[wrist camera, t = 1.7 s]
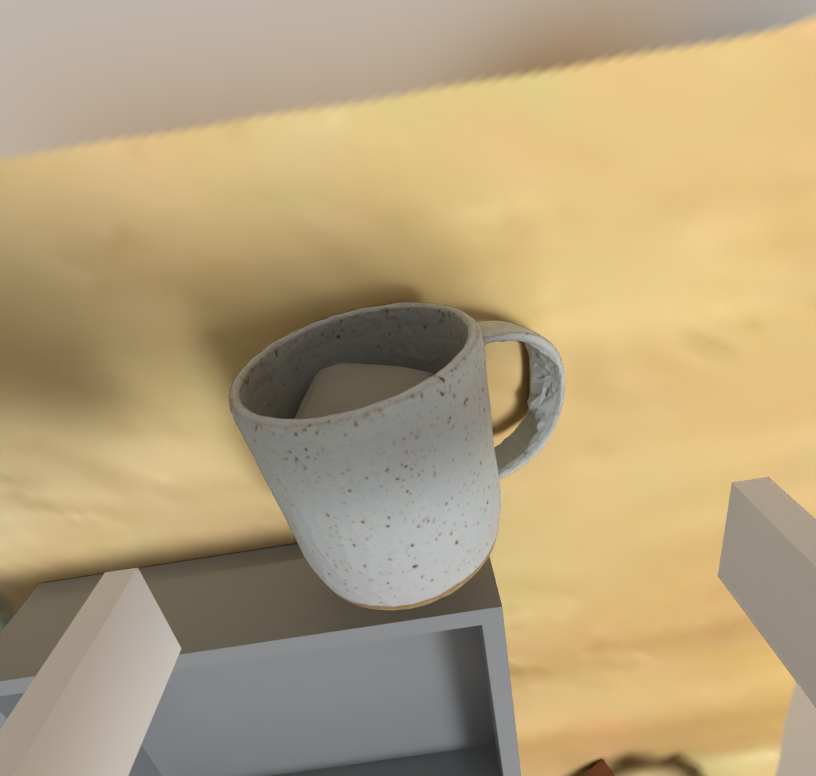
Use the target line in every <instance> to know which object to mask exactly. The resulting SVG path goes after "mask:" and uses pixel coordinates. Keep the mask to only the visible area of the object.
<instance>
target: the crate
mask: <svg viewBox="0 0 816 776" xmlns="http://www.w3.org/2000/svg"><path fill="white" fill-rule="evenodd" d="M138 569H139V571H140V573H141V574H142V576H143V578H144V580H145V582H146V584H147V586H148V587H149V589H150V591H151V593H152V595H153V597H154V599H155V600H156V602H157V604H158V606H159V608H160V610H161V611H162V613H163V615H164V617H165V619H166V621H167V623H168V624H169V626H170V628H171V630H172V632H173V634H174V636H175V637H176V639H177V641H178V643H179V645H180V647H181V651H180V653H179V656H178V658H177V660H176V663H175V665H174V668H173V670H172V672H171V675H170V677H169V679H168V682H167V684H166V687H165V689H164V691H163V694H162V696H161V699H160V701H159V703H158V706H157V708H156V711H155V713H154V715H153V718H152V720H151V723H150V725H149V727H148V730H147V732H146V735H145V737H144V739H143V742H142V744H141V746H140V749H139V751H138V754H137V756H136V758H135V761H134V763H133V766H132V768H131V770H130V773H129V775H128V776H521V770H520V761H519V752H518V744H517V735H516V726H515V717H514V708H513V699H512V690H511V682H510V673H509V664H508V655H507V646H506V637H505V628H504V620H503V611H502V604H501V601H500V597H499V593H498V589H497V585H496V581H495V577H494V573H493V569H492V565H491V561H490V557H488V559H487V560H486V561H485V563H484V564H483V566H482V567H481V568H480V570H479V571H478V572H477V573H476V574H475V575H474V576H473V577H472V578H471V579H469V580H468V581H467V582H466V583H465V584H464V585H463V586H461V587H460V588H459V589H457V590H456V591H454V592H453V593H451V594H450V595H447V596H445V597H443V598H441V599H438V600H436V601H434V602H432V603H429V604H427V605H423V606H419V607H415V608H411V609H402V610H378V609H369V608H365V607H360V606H358V605H355V604H353V603H350V602H348V601H347V600H345V599H343V598H341V597H339V596H338V595H337V594H336V593H335V592H334V591H333V590H331V589H330V588H329V587H328V586H327V585H326V584H325V583H324V582H323V580H322V579H321V578H320V577H319V576H318V575H317V573H316V572H315V571H314V570H313V569H312V568H311V566H310V565H309V563H308V562H307V560H306V558H305V557H304V555H303V553H302V551H301V549H300V547H299V545H298V543H297V544H291V545H284V546H278V547H271V548H265V549H258V550H252V551H246V552H239V553H233V554H226V555H220V556H213V557H207V558H200V559H194V560H188V561H181V562H175V563H168V564H162V565H155V566H149V567H142V568H138ZM103 575H104V574H97V575H91V576H85V577H78V578H72V579H65V580H59V581H52V582H46V583H39V584H38V586H37V587H36V588H35V589H34V591H33V592H32V593H31V595H30V596H29V597H28V598H27V600H26V601H25V602H24V603H23V605H22V606H21V607H20V609H19V610H18V611H17V612H16V614H15V615H14V616H13V617H12V619H11V620H10V621H9V623H8V624H7V625H6V626H5V628H4V629H3V630H2V631H1V633H0V729H1V727H2V726H3V724H4V723H5V721H6V720H7V718H8V717H9V715H10V714H11V712H12V711H13V709H14V708H15V706H16V705H17V703H18V702H19V700H20V699H21V697H22V696H23V694H24V693H25V691H26V690H27V688H28V687H29V685H30V684H31V682H32V681H33V679H34V678H35V676H36V675H37V673H38V672H39V670H40V669H41V667H42V666H43V664H44V663H45V661H46V660H47V658H48V657H49V655H50V654H51V652H52V651H53V649H54V648H55V646H56V645H57V643H58V642H59V641H60V639H61V638H62V636H63V635H64V633H65V632H66V630H67V629H68V627H69V626H70V624H71V623H72V621H73V620H74V618H75V617H76V615H77V614H78V612H79V611H80V609H81V608H82V606H83V605H84V603H85V602H86V600H87V599H88V597H89V596H90V594H91V593H92V591H93V590H94V588H95V587H96V585H97V584H98V582H99V581H100V579H101V578H102V576H103Z"/></svg>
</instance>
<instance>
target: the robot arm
mask: <svg viewBox="0 0 816 776" xmlns="http://www.w3.org/2000/svg"><path fill="white" fill-rule="evenodd" d="M718 577H719V578H720V580H721V581H722V582H723V584H724V585H725V586H726V588H727V589H728V591H729V592H730V593H731V595H732V596H733V597H734V599H735V600H736V601H737V603H738V604H739V605H740V607H741V608H742V609H743V611H744V612H745V613H746V615H747V616H748V617H749V619H750V620H751V621H752V623H753V624H754V625H755V627H756V628H757V629H758V631H759V632H760V633H761V635H762V636H763V637H764V639H765V640H766V642H767V643H768V644H769V646H770V647H771V648H772V650H773V651H774V652H775V654H776V655H777V656H778V658H779V659H780V660H781V662H782V663H783V664H784V666H785V667H786V668H787V670H788V671H789V672H790V674H791V675H792V676H793V678H794V679H795V680H796V682H797V683H798V684H799V686H800V687H801V688H802V690H803V691H804V693H805V694H806V695H807V697H808V698H809V699H810V700H811V702H812V703H813V704H814V706H815V707H816V519H815V518H814V517H813V516H811V515H810V514H809V513H808V512H807V511H806V510H805V509H804V508H803V507H801V506H800V505H799V504H798V503H797V502H796V501H795V500H794V499H793V498H791V497H790V496H789V495H788V494H787V493H786V492H785V491H784V490H782V489H781V488H780V487H779V486H778V485H777V484H776V483H775V482H774V481H772V480H771V479H770V478H769V477H766V478H760V479H753V480H746V481H739V482H732V485H731V492H730V499H729V505H728V512H727V518H726V525H725V532H724V538H723V545H722V552H721V558H720V565H719V572H718ZM180 651H181V647H180V645H179V643H178V641H177V639H176V637H175V636H174V634H173V632H172V630H171V628H170V626H169V624H168V623H167V621H166V619H165V617H164V615H163V613H162V611H161V610H160V608H159V606H158V604H157V602H156V600H155V599H154V597H153V595H152V593H151V591H150V589H149V587H148V586H147V584H146V582H145V580H144V578H143V576H142V574H141V573H140V571H139V569H138V568H131V569H124V570H117V571H110V572H105V573H104V575H103V576H102V578H101V579H100V581H99V582H98V584H97V585H96V587H95V588H94V590H93V591H92V593H91V594H90V596H89V597H88V599H87V600H86V602H85V603H84V605H83V606H82V608H81V609H80V611H79V612H78V614H77V615H76V617H75V618H74V620H73V621H72V623H71V624H70V626H69V627H68V629H67V630H66V632H65V633H64V635H63V636H62V638H61V639H60V641H59V642H58V643H57V645H56V646H55V648H54V649H53V651H52V652H51V654H50V655H49V657H48V658H47V660H46V661H45V663H44V664H43V666H42V667H41V669H40V670H39V672H38V673H37V675H36V676H35V678H34V679H33V681H32V682H31V684H30V685H29V687H28V688H27V690H26V691H25V693H24V694H23V696H22V697H21V699H20V700H19V702H18V703H17V705H16V706H15V708H14V709H13V711H12V712H11V714H10V715H9V717H8V718H7V720H6V721H5V723H4V724H3V726H2V727H1V729H0V776H128V775H129V773H130V770H131V768H132V766H133V763H134V761H135V758H136V756H137V754H138V751H139V749H140V746H141V744H142V742H143V739H144V737H145V735H146V732H147V730H148V727H149V725H150V723H151V720H152V718H153V715H154V713H155V711H156V708H157V706H158V703H159V701H160V699H161V696H162V694H163V691H164V689H165V687H166V684H167V682H168V679H169V677H170V675H171V672H172V670H173V668H174V665H175V663H176V660H177V658H178V656H179V653H180Z"/></svg>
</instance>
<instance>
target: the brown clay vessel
mask: <svg viewBox="0 0 816 776" xmlns="http://www.w3.org/2000/svg"><path fill="white" fill-rule="evenodd" d="M585 776H614V775H613V773H612V771H611V770H610V768H609V767H608V766H607V764H606V763H605V761H604V760H599V761H598V762H597V763H596V764H595V765H594V766H593V767H592V768H591V769H590V770H589V772H588V773H586V775H585Z"/></svg>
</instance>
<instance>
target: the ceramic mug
mask: <svg viewBox="0 0 816 776" xmlns="http://www.w3.org/2000/svg"><path fill="white" fill-rule="evenodd" d="M496 341H500V342H503V341H522V342H524V343H525V348H526V349H527V351H528V352H529V360H530V395H529V398H528V401H527V404H528V407H529V408H528V410H527V413H526V415H525V417H524V419H523V420H522V421H521V423H520V424H519V425H518V427H517V428H516V429H515V431H514V432H513V433H512V434H511V435H510V436H509V437H507V438H506V439H504V441H503V442H502V443H501V444H500V445H498V446H496V447H495V448H494V442H493V431H492V419H491V409H490V400H489V392H488V384H487V373H486V361H485V350H484V345H485V344H487V343H491V342H496ZM564 392H565V376H564V367H563V363H562V359H561V357H560V355H559V353H558V351H557V349H556V348H555V347H554V346H553V344H552V343H551V342H550V341H549V340H547V339H546V338H544V337H543V336H541V335H540V334H538V333H536V332H534V331H532V330H529V329H526V328H524V327H522V326H519V325H516V324H513V323H510V322H505V321H481V322H476V321H475V320H474V319H473V318H472V317H471V316H470V315H468V314H467V313H465V312H463V311H462V310H459V309H457V308H455V307H450V306H446V305H438V304H432V303H417V302H402V303H394V304H388V305H382V306H376V307H366V308H361V309H357V310H353V311H350V312H346V313H342V314H339V315H334V316H331V317H329V318H327V319H324V320H319V321H317V322H314V323H312V324H309V325H308V326H306V327H304V328H301V329H298V330H296V331H294V332H291V333H290V334H288V335H286V336H284V337H283V338H281V339H279V340H277V341H275V342H273V343H271V344H269V345H268V346H267V347H266V348H265V349H264V350H263V351H261V352H260V353H259V354H258V355H256V356H254V357H253V358H252V359H251V360H250V361H249V362H248V363H247V365H246V366H245V367H244V368H243V369H242V370H241V371H240V372H239V374H238V375H237V376H236V377H235V379H234V382H233V384H232V386H231V388H230V395H229V402H230V410H231V412H232V414H233V417H234V419H235V421H236V424H237V426H238V428H239V429H240V431H241V433H242V435H243V437H244V439H245V441H246V443H247V445H248V446H249V448H250V450H251V452H252V453H253V455H254V457H255V459H256V462H257V464H258V466H259V468H260V470H261V472H262V474H263V476H264V478H265V480H266V482H267V484H268V486H269V487H270V489H271V491H272V493H273V495H274V497H275V499H276V501H277V503H278V505H279V507H280V509H281V511H282V513H283V515H284V516H285V518H286V520H287V522H288V524H289V526H290V528H291V530H292V532H293V534H294V536H295V538H296V540H297V543H298V545H299V547H300V549H301V551H302V553H303V555H304V557H305V558H306V560H307V562H308V563H309V565H310V566H311V568H312V569H313V570H314V571H315V572H316V573H317V575H318V576H319V577H320V578H321V579H322V580H323V582H324V583H325V584H326V585H327V586H328V587H329V588H330V589H331V590H333V591H334V592H335V593H336V594H337V595H338V596H339V597H341V598H343V599H345V600H347V601H348V602H350V603H353V604H355V605H358V606H360V607H365V608H369V609H378V610H402V609H411V608H415V607H419V606H423V605H427V604H429V603H432V602H434V601H436V600H438V599H441V598H443V597H445V596H447V595H450V594H451V593H453V592H454V591H456V590H457V589H459V588H460V587H461V586H463V585H464V584H465V583H466V582H467V581H468V580H469V579H471V578H472V577H473V576H474V575H475V574H476V573H477V572H478V571H479V570H480V568H481V567H482V566H483V564H484V563H485V561H486V560H487V559H488V557H489V556H490V553H491V551H492V549H493V546H494V544H495V541H496V536H497V532H498V526H499V517H500V507H501V491H500V483H499V479H502V478H504V477H506V476H508V475H509V474H511V473H513V472H515V471H516V470H517V469H519V468H520V467H522V466H524V465H525V464H526V463H527V462H528V461H529V460H530V459H531V458H533V457H534V456H535V455H536V454H537V453H538V452H539V451H540V450H541V449H542V448H543V447H544V445H545V444H546V442H547V440H548V439H549V437H550V435H551V434H552V432H553V430H554V428H555V426H556V424H557V421H558V419H559V416H560V413H561V409H562V404H563V399H564Z"/></svg>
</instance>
